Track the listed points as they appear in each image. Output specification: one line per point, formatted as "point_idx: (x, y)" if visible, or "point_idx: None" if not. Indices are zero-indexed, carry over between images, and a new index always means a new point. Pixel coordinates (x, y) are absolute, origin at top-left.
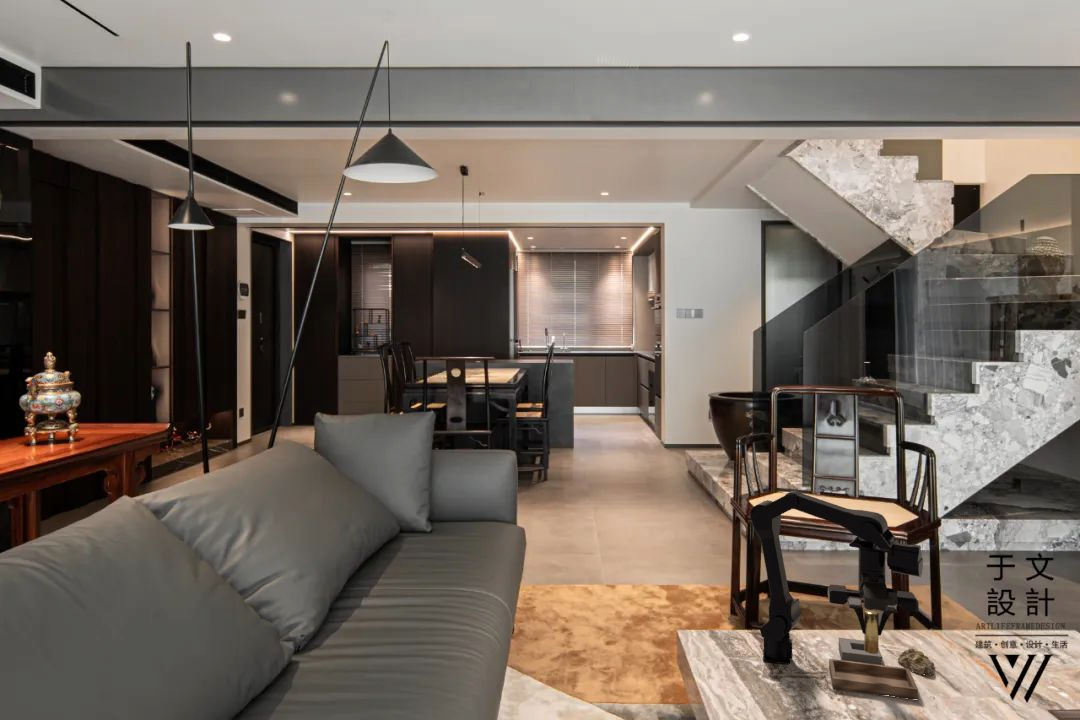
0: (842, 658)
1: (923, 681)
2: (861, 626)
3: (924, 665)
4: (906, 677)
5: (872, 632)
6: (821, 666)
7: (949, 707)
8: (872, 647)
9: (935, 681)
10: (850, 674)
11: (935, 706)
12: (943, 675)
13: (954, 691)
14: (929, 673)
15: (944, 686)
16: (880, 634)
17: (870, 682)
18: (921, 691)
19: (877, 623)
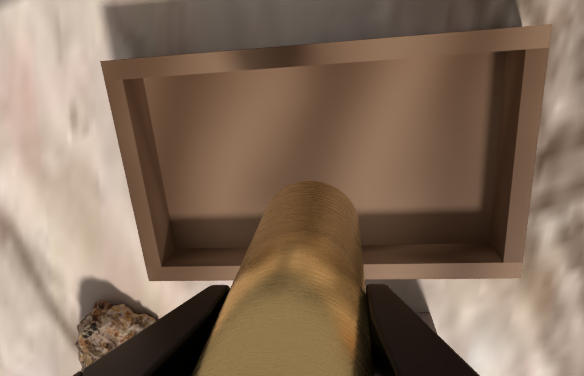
0: (433, 329)
1: (117, 253)
2: (418, 325)
3: (100, 343)
4: (170, 238)
5: (286, 265)
6: (533, 263)
7: (10, 45)
8: (301, 199)
9: (77, 267)
10: (411, 201)
11: (60, 30)
12: (56, 322)
13: (9, 205)
14: (93, 311)
15: (45, 235)
16: (209, 289)
17: (332, 51)
18: (120, 160)
19: (198, 367)
